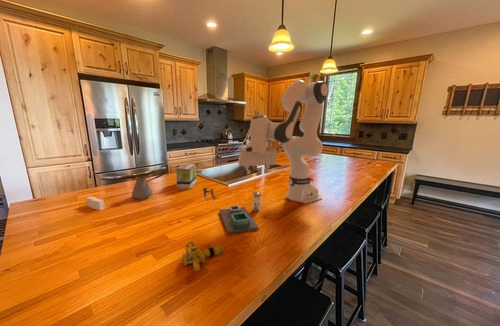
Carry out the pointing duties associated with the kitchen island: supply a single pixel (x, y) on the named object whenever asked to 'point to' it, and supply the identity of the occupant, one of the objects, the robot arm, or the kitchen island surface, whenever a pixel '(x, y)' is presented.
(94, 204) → the white rectangular block
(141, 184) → the coffee pot
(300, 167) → the robot arm
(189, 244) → the sprinkler
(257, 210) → the fitting
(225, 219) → the manifold plate
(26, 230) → the kitchen island surface
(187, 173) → the tea box
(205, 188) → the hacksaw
